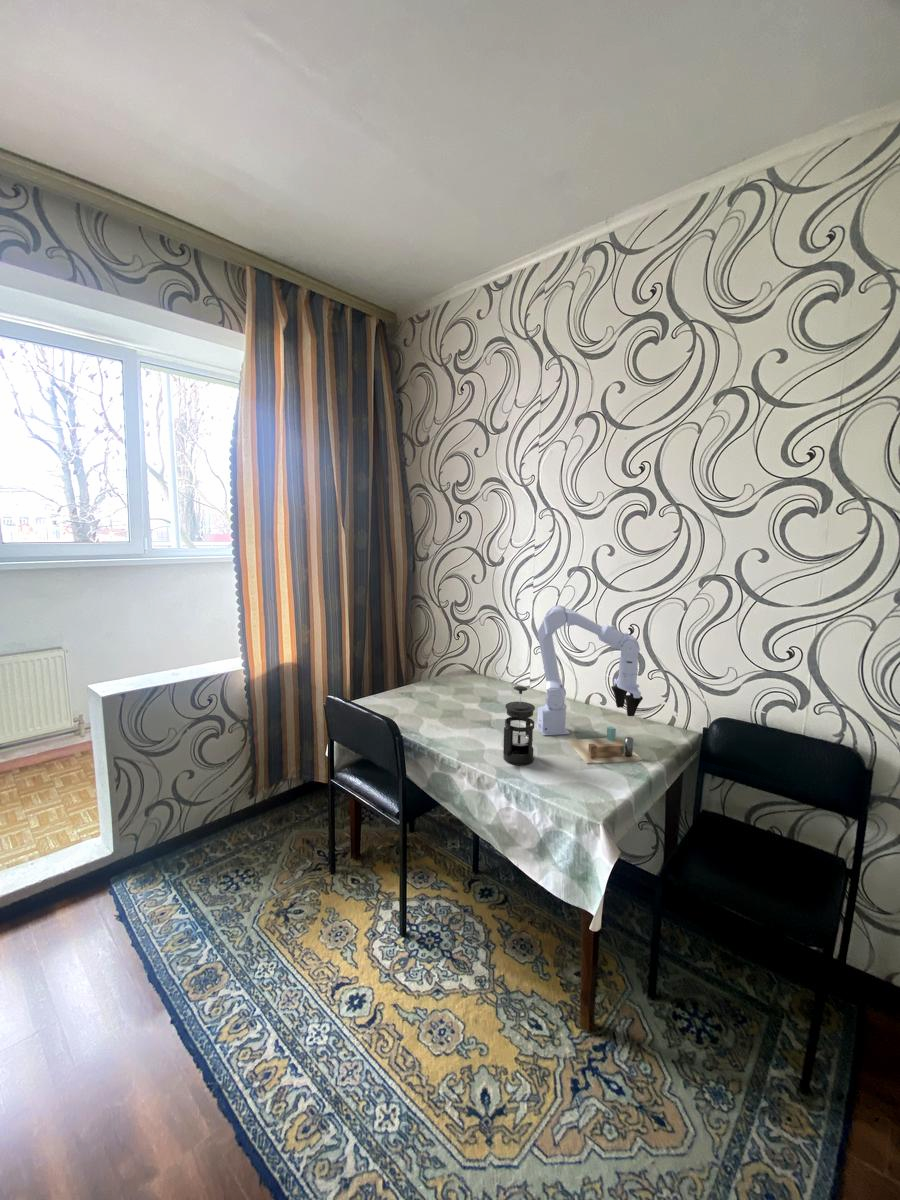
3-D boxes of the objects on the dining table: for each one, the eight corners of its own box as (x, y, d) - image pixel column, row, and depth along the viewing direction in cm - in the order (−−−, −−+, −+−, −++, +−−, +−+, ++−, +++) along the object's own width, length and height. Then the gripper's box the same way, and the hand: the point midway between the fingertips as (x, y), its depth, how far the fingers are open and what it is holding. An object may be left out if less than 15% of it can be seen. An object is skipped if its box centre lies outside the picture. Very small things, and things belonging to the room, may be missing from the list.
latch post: (610, 742, 164) (610, 729, 163) (606, 739, 166) (607, 727, 165) (615, 741, 164) (615, 728, 164) (611, 739, 166) (612, 726, 166)
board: (586, 764, 149) (586, 762, 149) (566, 741, 164) (566, 740, 164) (642, 760, 151) (642, 759, 151) (617, 738, 167) (617, 737, 167)
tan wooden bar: (620, 752, 154) (621, 741, 154) (623, 755, 152) (624, 744, 152) (588, 754, 153) (588, 743, 152) (590, 757, 151) (591, 746, 150)
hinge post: (626, 758, 152) (627, 740, 151) (622, 754, 155) (623, 737, 154) (633, 758, 153) (634, 739, 152) (629, 754, 155) (630, 736, 154)
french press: (517, 748, 159) (519, 680, 156) (541, 758, 152) (544, 687, 149) (493, 759, 151) (495, 688, 148) (517, 770, 144) (519, 696, 141)
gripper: (650, 678, 156) (647, 719, 158) (628, 665, 171) (626, 703, 173) (629, 679, 155) (627, 720, 158) (609, 666, 170) (607, 703, 172)
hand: (625, 711), depth 165 cm, fingers open, 7 cm apart
